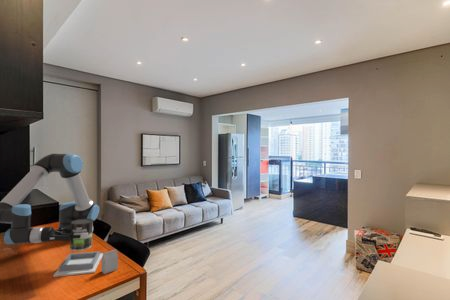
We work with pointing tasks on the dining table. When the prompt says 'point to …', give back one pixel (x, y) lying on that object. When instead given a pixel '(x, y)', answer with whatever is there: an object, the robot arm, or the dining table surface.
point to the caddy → (79, 264)
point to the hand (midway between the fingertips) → (90, 231)
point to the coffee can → (81, 227)
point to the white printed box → (109, 261)
